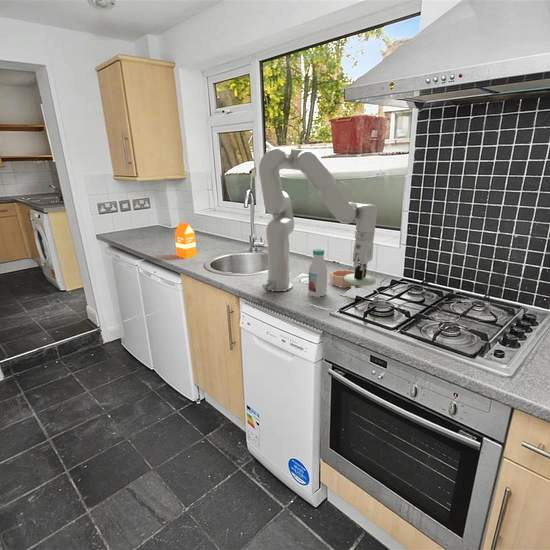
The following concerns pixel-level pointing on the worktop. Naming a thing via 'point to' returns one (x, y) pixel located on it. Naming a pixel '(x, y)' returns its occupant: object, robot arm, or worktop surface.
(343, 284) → the bowl
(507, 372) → the worktop surface
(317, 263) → the milk bottle
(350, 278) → the lid
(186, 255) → the orange juice
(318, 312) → the worktop surface
